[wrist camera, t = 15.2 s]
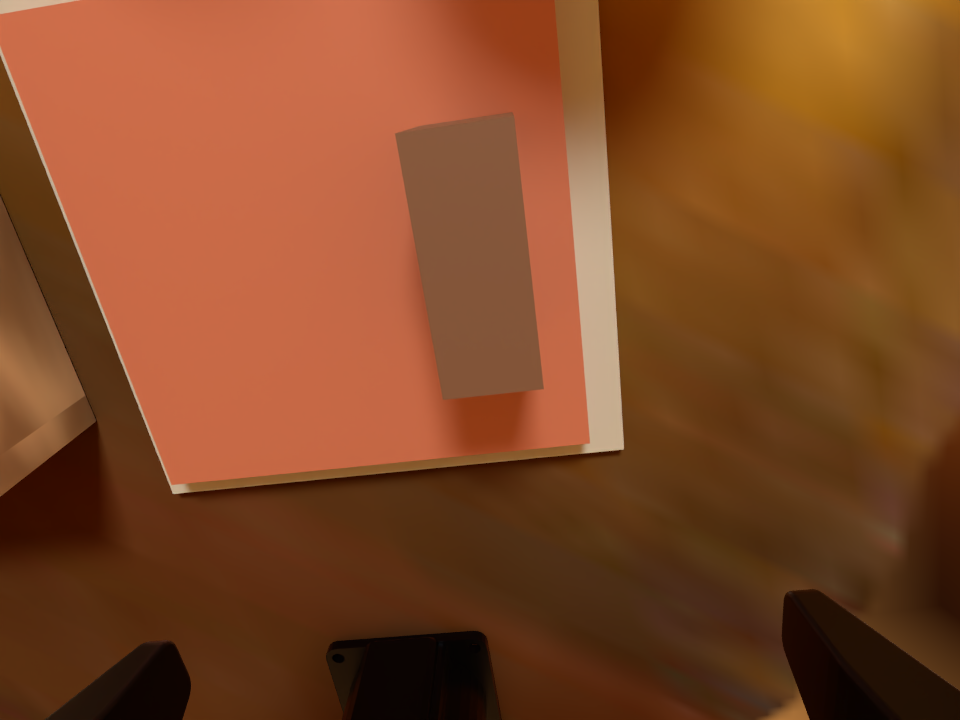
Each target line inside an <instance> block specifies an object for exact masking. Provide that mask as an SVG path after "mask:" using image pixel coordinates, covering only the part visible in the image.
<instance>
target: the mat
mask: <svg viewBox="0 0 960 720" xmlns="http://www.w3.org/2000/svg"><path fill="white" fill-rule="evenodd" d="M72 1H78V0H0V14H4V13H10V12H15V11H21V10H27V9H32V8H38V7H44V6H49V5H55V4H61V3H67V2H72ZM554 1H555V13H556V25H557V38H558V50H559V63H560V75H561V88H562V100H563V113H564V125H565V137H566V150H567V162H568V175H569V187H570V200H571V212H572V225H573V237H574V249H575V262H576V274H577V287H578V299H579V312H580V324H581V337H582V349H583V361H584V374H585V386H586V399H587V411H588V424H589V436H590V443H589V444H579V445H569V446H559V447H549V448H539V449H529V450H519V451H509V452H499V453H489V454H479V455H469V456H459V457H449V458H439V459H428V460H418V461H408V462H398V463H388V464H378V465H368V466H358V467H348V468H338V469H328V470H318V471H308V472H298V473H288V474H278V475H267V476H257V477H247V478H237V479H227V480H217V481H207V482H197V483H187V484H177V485H171V482H170V479H169V477H168V474H167V472H166V469H165V467H164V464H163V462H162V459H161V456H160V454H159V451H158V449H157V446H156V444H155V441H154V439H153V436H152V433H151V431H150V428H149V426H148V423H147V421H146V418H145V416H144V413H143V410H142V408H141V405H140V403H139V400H138V398H137V395H136V393H135V390H134V387H133V385H132V382H131V380H130V377H129V375H128V372H127V370H126V367H125V364H124V362H123V359H122V357H121V354H120V352H119V349H118V346H117V344H116V341H115V339H114V336H113V334H112V331H111V329H110V326H109V323H108V321H107V318H106V316H105V313H104V311H103V308H102V306H101V303H100V300H99V298H98V295H97V293H96V290H95V288H94V285H93V283H92V280H91V277H90V275H89V272H88V270H87V267H86V265H85V262H84V260H83V257H82V254H81V252H80V249H79V247H78V244H77V242H76V239H75V237H74V234H73V231H72V229H71V226H70V224H69V221H68V219H67V216H66V214H65V211H64V208H63V206H62V203H61V201H60V198H59V196H58V193H57V190H56V188H55V185H54V183H53V180H52V178H51V175H50V173H49V170H48V167H47V165H46V162H45V160H44V157H43V155H42V152H41V150H40V147H39V144H38V142H37V139H36V137H35V134H34V132H33V129H32V127H31V124H30V121H29V119H28V116H27V114H26V111H25V109H24V106H23V104H22V101H21V98H20V96H19V93H18V91H17V88H16V86H15V83H14V81H13V78H12V75H11V73H10V70H9V68H8V65H7V63H6V60H5V58H4V55H3V52H2V50H1V47H0V55H1V58H2V60H3V63H4V65H5V68H6V71H7V73H8V76H9V78H10V81H11V83H12V86H13V88H14V91H15V93H16V96H17V98H18V101H19V104H20V106H21V109H22V111H23V114H24V116H25V119H26V121H27V124H28V126H29V129H30V132H31V134H32V137H33V139H34V142H35V144H36V147H37V149H38V152H39V154H40V157H41V159H42V162H43V165H44V167H45V170H46V172H47V175H48V177H49V180H50V182H51V185H52V187H53V190H54V193H55V195H56V198H57V200H58V203H59V205H60V208H61V210H62V213H63V215H64V218H65V220H66V223H67V226H68V228H69V231H70V233H71V236H72V238H73V241H74V243H75V246H76V248H77V251H78V254H79V256H80V259H81V261H82V264H83V266H84V269H85V271H86V274H87V276H88V279H89V281H90V284H91V287H92V289H93V292H94V294H95V297H96V299H97V302H98V304H99V307H100V309H101V312H102V315H103V317H104V320H105V322H106V325H107V327H108V330H109V332H110V335H111V337H112V340H113V342H114V345H115V348H116V350H117V353H118V355H119V358H120V360H121V363H122V365H123V368H124V370H125V373H126V376H127V378H128V381H129V383H130V386H131V388H132V391H133V393H134V396H135V398H136V401H137V403H138V406H139V409H140V411H141V414H142V416H143V419H144V421H145V424H146V426H147V429H148V431H149V434H150V437H151V439H152V442H153V444H154V447H155V449H156V452H157V454H158V457H159V459H160V462H161V464H162V467H163V470H164V472H165V475H166V477H167V480H168V482H169V485H170V487H171V490H172V492H173V494H178V493H188V492H198V491H208V490H218V489H228V488H238V487H249V486H259V485H269V484H279V483H289V482H299V481H309V480H319V479H330V478H340V477H350V476H360V475H370V474H380V473H390V472H401V471H411V470H421V469H431V468H441V467H451V466H461V465H471V464H482V463H492V462H502V461H512V460H522V459H532V458H542V457H553V456H563V455H573V454H583V453H593V452H603V451H613V450H623V449H624V442H623V424H622V407H621V389H620V372H619V354H618V337H617V320H616V302H615V285H614V267H613V250H612V232H611V215H610V197H609V180H608V162H607V145H606V128H605V110H604V93H603V75H602V58H601V40H600V23H599V5H598V0H554Z"/></svg>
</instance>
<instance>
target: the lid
mask: <svg viewBox="0 0 960 720" xmlns="http://www.w3.org/2000/svg"><path fill="white" fill-rule="evenodd" d="M0 47H1V50H2V52H3V55H4V58H5V60H6V63H7V65H8V68H9V70H10V73H11V75H12V78H13V81H14V83H15V86H16V88H17V91H18V93H19V96H20V98H21V101H22V104H23V106H24V109H25V111H26V114H27V116H28V119H29V121H30V124H31V127H32V129H33V132H34V134H35V137H36V139H37V142H38V144H39V147H40V150H41V152H42V155H43V157H44V160H45V162H46V165H47V167H48V170H49V173H50V175H51V178H52V180H53V183H54V185H55V188H56V190H57V193H58V196H59V198H60V201H61V203H62V206H63V208H64V211H65V214H66V216H67V219H68V221H69V224H70V226H71V229H72V231H73V234H74V237H75V239H76V242H77V244H78V247H79V249H80V252H81V254H82V257H83V260H84V262H85V265H86V267H87V270H88V272H89V275H90V277H91V280H92V283H93V285H94V288H95V290H96V293H97V295H98V298H99V300H100V303H101V306H102V308H103V311H104V313H105V316H106V318H107V321H108V323H109V326H110V329H111V331H112V334H113V336H114V339H115V341H116V344H117V346H118V349H119V352H120V354H121V357H122V359H123V362H124V364H125V367H126V370H127V372H128V375H129V377H130V380H131V382H132V385H133V387H134V390H135V393H136V395H137V398H138V400H139V403H140V405H141V408H142V410H143V413H144V416H145V418H146V421H147V423H148V426H149V428H150V431H151V433H152V436H153V439H154V441H155V444H156V446H157V449H158V451H159V454H160V456H161V459H162V462H163V464H164V467H165V469H166V472H167V474H168V477H169V479H170V482H171V485H177V484H187V483H197V482H207V481H217V480H227V479H237V478H247V477H257V476H267V475H278V474H288V473H298V472H308V471H318V470H328V469H338V468H348V467H358V466H368V465H378V464H388V463H398V462H408V461H418V460H428V459H439V458H449V457H459V456H469V455H479V454H489V453H499V452H509V451H519V450H529V449H539V448H549V447H559V446H569V445H579V444H589V443H590V436H589V424H588V411H587V399H586V386H585V374H584V361H583V349H582V337H581V324H580V312H579V299H578V287H577V274H576V262H575V249H574V237H573V225H572V212H571V200H570V187H569V175H568V162H567V150H566V137H565V125H564V113H563V100H562V88H561V75H560V63H559V50H558V38H557V25H556V13H555V1H554V0H78V1H72V2H67V3H61V4H55V5H49V6H44V7H38V8H32V9H27V10H21V11H15V12H10V13H4V14H0Z"/></svg>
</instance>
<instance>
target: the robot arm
mask: <svg viewBox="0 0 960 720" xmlns="http://www.w3.org/2000/svg"><path fill="white" fill-rule="evenodd" d="M782 642H783V647H784V651H785V654H786V657H787V659H788V662H789V665H790V668H791V670H792V673H793V676H794V678H795V681H796V684H797V686H798V689H799V692H800V695H801V697H802V700H803V703H804V705H805V708H806V711H807V714H808V716H809V719H810V720H960V691H959V690H958V689H957V688H955V687H954V686H952V685H951V684H949V683H948V682H947V681H945V680H944V679H943V678H941V677H940V676H938V675H937V674H936V673H934V672H933V671H931V670H930V669H929V668H927V667H926V666H924V665H923V664H922V663H920V662H919V661H917V660H916V659H915V658H913V657H912V656H910V655H909V654H908V653H906V652H905V651H903V650H902V649H900V648H899V647H897V646H896V645H895V644H894V643H892V642H890V641H889V640H888V639H886V638H885V637H884V636H882V635H881V634H880V633H878V632H877V631H875V630H874V629H873V628H871V627H870V626H868V625H867V624H865V623H864V622H863V621H861V620H860V619H858V618H857V617H856V616H854V615H853V614H851V613H850V612H849V611H847V610H846V609H844V608H843V607H842V606H840V605H839V604H837V603H836V602H835V601H833V600H832V599H830V598H829V597H828V596H826V595H825V594H823V593H822V592H820V591H818V590H814V589H810V590H797V591H789V592H787V593H786V595H785V597H784V606H783V623H782ZM472 644H477V645H472ZM339 654H341V655H339ZM326 660H327V663H328V666H329V669H330V672H331V675H332V679H333V682H334V685H335V688H336V691H337V694H338V697H339V700H340V704H341V707H342V710H343V713H344V714H343V718H342V720H502V719H501V713H500V708H499V702H498V697H497V691H496V686H495V680H494V675H493V669H492V663H491V658H490V652H489V647H488V641H487V638H486V636H485V635H484V634H483V633H481V632H478V631H467V632H453V633H440V634H426V635H413V636H399V637H386V638H373V639H359V640H346V641H336V642H333V643H332V644H330V646H329V648H328V652H327V655H326ZM190 690H191V681H190V677H189V674H188V672H187V670H186V667H185V665H184V663H183V660H182V658H181V656H180V654H179V651H178V649H177V647H176V645H175V644H174V643H173V642H171V641H168V640H164V641H152V642H146V643H143V644H141V645H140V646H138V647H137V648H136V649H134V650H133V651H132V652H131V653H129V654H128V655H127V656H125V657H124V658H123V659H122V660H120V661H119V662H118V663H116V664H115V665H114V666H113V667H111V668H110V669H109V670H108V671H106V672H105V673H104V674H102V675H101V676H100V677H99V678H97V679H96V680H95V681H93V682H92V683H91V684H90V685H88V686H87V687H86V688H85V689H83V690H82V691H81V692H79V693H78V694H77V695H76V696H74V697H73V698H72V699H70V700H69V701H68V702H67V703H65V704H64V705H63V706H62V707H60V708H59V709H58V710H56V711H55V712H54V713H53V714H51V715H50V716H49V717H47V718H46V719H45V720H182V719H183V716H184V712H185V709H186V706H187V703H188V699H189V696H190Z"/></svg>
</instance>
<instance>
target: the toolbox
mask: <svg viewBox="0 0 960 720" xmlns="http://www.w3.org/2000/svg"><path fill="white" fill-rule="evenodd" d="M95 422H96V419H95V416H94V414H93V412H92V409H91V407H90V405H89V402H88V400H87V398H86V395H85V393H84V391H83V388H82V386H81V384H80V381H79V379H78V377H77V374H76V372H75V370H74V367H73V365H72V363H71V360H70V358H69V356H68V353H67V351H66V349H65V346H64V344H63V342H62V339H61V337H60V335H59V332H58V330H57V328H56V325H55V323H54V321H53V318H52V316H51V313H50V311H49V309H48V306H47V304H46V302H45V299H44V297H43V295H42V292H41V290H40V288H39V285H38V283H37V281H36V278H35V276H34V274H33V271H32V269H31V267H30V264H29V262H28V260H27V257H26V255H25V253H24V250H23V248H22V246H21V243H20V241H19V239H18V236H17V234H16V232H15V229H14V227H13V225H12V222H11V220H10V218H9V215H8V213H7V210H6V208H5V206H4V203H3V201H2V199H1V196H0V496H2V495H3V494H4V493H5V492H7V491H8V490H9V489H11V488H12V487H13V486H14V485H16V484H17V483H18V482H19V481H21V480H22V479H23V478H25V477H26V476H27V475H28V474H30V473H31V472H32V471H33V470H35V469H36V468H37V467H39V466H40V465H41V464H42V463H44V462H45V461H46V460H47V459H49V458H50V457H51V456H53V455H54V454H55V453H56V452H58V451H59V450H60V449H61V448H63V447H64V446H65V445H67V444H68V443H69V442H70V441H72V440H73V439H74V438H75V437H77V436H78V435H79V434H81V433H82V432H83V431H84V430H86V429H87V428H88V427H89V426H91V425H92V424H93V423H95Z"/></svg>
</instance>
